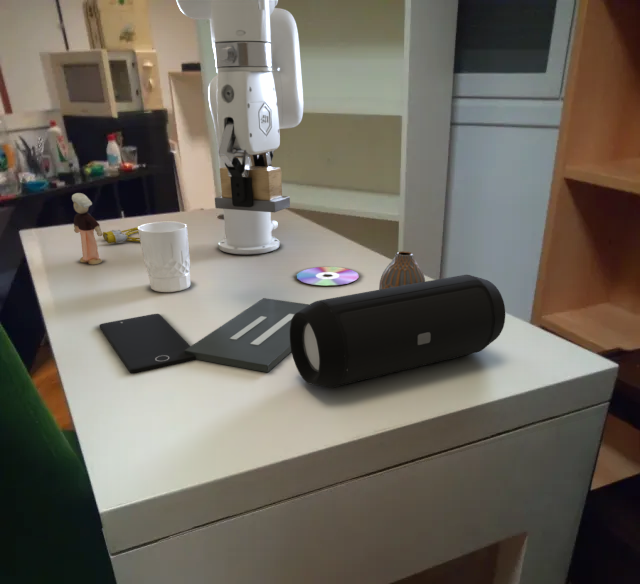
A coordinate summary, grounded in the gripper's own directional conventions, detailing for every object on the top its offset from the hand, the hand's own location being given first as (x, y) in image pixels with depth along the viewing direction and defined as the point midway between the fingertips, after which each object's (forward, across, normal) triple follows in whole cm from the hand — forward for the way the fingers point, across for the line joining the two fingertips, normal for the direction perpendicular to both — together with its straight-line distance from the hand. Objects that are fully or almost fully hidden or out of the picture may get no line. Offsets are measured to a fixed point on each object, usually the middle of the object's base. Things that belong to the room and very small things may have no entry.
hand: (252, 201), depth 88 cm
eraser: (+1, 0, 0) cm, 1 cm away
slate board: (+15, -12, -8) cm, 21 cm away
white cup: (+15, 0, +17) cm, 23 cm away
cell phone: (+16, -21, +6) cm, 27 cm away
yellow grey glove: (+14, +27, +44) cm, 54 cm away
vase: (+15, +4, -23) cm, 28 cm away
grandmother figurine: (+15, +7, +40) cm, 44 cm away
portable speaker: (+16, -16, -28) cm, 36 cm away
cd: (+15, +16, -6) cm, 22 cm away
